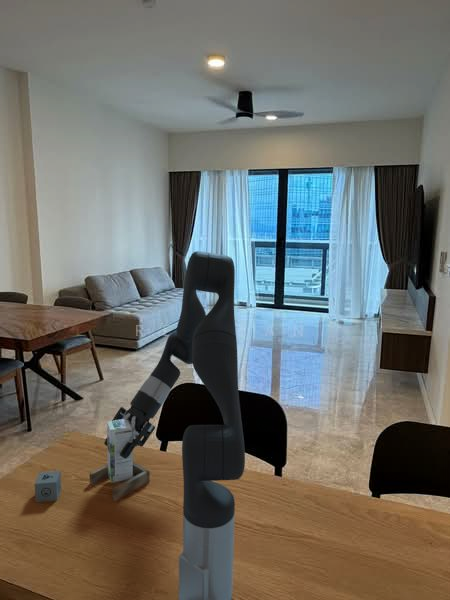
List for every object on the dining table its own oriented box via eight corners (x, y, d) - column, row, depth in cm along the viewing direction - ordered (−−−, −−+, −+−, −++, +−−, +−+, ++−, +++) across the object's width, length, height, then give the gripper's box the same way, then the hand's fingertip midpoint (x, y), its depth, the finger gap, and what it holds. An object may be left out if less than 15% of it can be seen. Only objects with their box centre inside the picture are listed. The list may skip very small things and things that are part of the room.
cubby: (115, 501, 106) (115, 489, 106) (89, 483, 113) (89, 473, 113) (149, 481, 115) (149, 471, 114) (123, 466, 122) (123, 456, 121)
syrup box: (107, 472, 115) (105, 421, 113) (129, 467, 118) (128, 417, 115) (111, 483, 110) (109, 431, 107) (134, 478, 112) (132, 426, 110)
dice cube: (40, 490, 110) (39, 472, 109) (61, 488, 111) (60, 470, 110) (35, 502, 105) (34, 483, 104) (57, 500, 106) (56, 482, 105)
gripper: (127, 382, 120) (90, 435, 114) (158, 397, 110) (120, 456, 104) (143, 395, 125) (109, 447, 119) (175, 411, 115) (139, 468, 109)
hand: (114, 451), depth 111 cm, fingers closed on syrup box, 7 cm apart
